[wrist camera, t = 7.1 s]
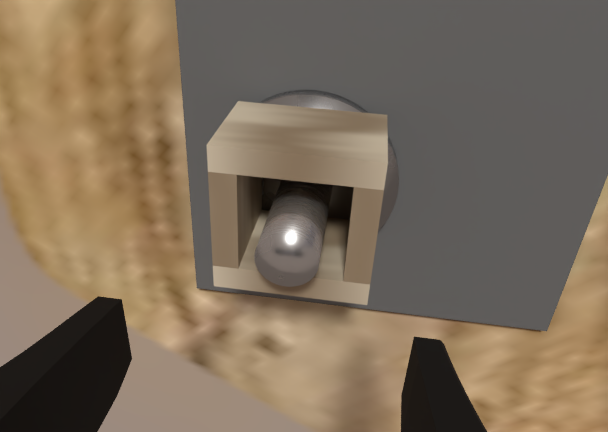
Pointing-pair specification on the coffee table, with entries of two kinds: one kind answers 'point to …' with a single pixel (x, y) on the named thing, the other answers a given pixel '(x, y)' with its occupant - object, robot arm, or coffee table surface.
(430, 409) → the robot arm
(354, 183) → the collar
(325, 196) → the post
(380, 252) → the mat
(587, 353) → the coffee table surface
